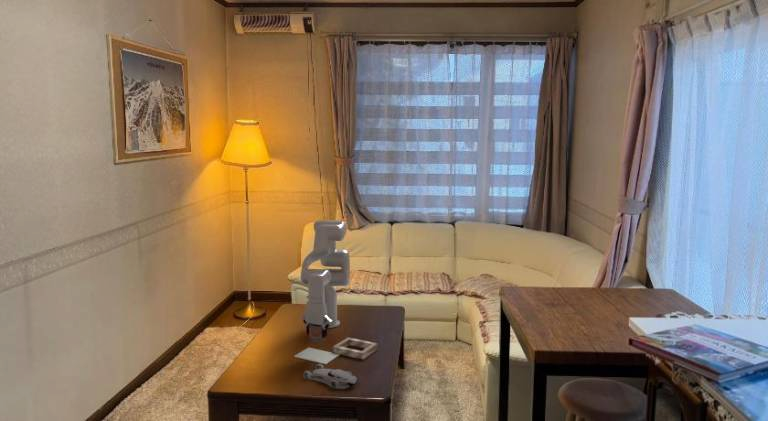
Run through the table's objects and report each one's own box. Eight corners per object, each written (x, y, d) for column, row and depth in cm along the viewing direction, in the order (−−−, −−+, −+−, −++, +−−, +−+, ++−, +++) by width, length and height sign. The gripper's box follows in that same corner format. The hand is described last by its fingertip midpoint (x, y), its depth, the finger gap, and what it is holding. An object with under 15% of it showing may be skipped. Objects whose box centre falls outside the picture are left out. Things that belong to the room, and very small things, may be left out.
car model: (317, 369, 240) (317, 358, 240) (362, 382, 228) (362, 371, 227) (301, 378, 231) (301, 367, 230) (347, 393, 218) (347, 381, 218)
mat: (293, 356, 253) (293, 356, 252) (308, 348, 263) (308, 347, 263) (325, 364, 244) (325, 363, 244) (339, 355, 255) (339, 354, 255)
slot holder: (332, 352, 258) (332, 346, 257) (347, 343, 270) (347, 337, 270) (363, 359, 250) (363, 353, 250) (377, 349, 262) (377, 343, 262)
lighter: (326, 340, 253) (325, 319, 252) (322, 342, 250) (322, 322, 248) (310, 338, 255) (310, 317, 254) (307, 340, 252) (307, 320, 251)
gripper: (296, 298, 251) (296, 334, 253) (327, 304, 243) (327, 341, 245) (305, 294, 257) (306, 329, 260) (336, 300, 249) (336, 335, 252)
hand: (316, 335), depth 252 cm, fingers closed on lighter, 8 cm apart
